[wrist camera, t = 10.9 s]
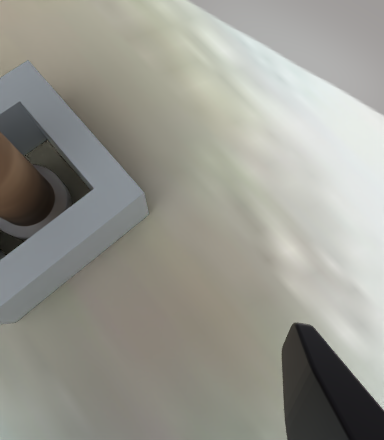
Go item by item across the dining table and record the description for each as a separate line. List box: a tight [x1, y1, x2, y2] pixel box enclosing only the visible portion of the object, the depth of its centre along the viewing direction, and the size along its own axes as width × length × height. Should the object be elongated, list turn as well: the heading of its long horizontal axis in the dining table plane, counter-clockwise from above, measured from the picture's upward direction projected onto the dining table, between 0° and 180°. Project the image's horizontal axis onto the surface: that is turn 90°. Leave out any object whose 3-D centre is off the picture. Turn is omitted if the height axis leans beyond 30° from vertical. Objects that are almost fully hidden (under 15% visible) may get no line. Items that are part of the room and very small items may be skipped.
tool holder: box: [0, 60, 149, 324], centre depth 20 cm, size 10×10×4 cm
